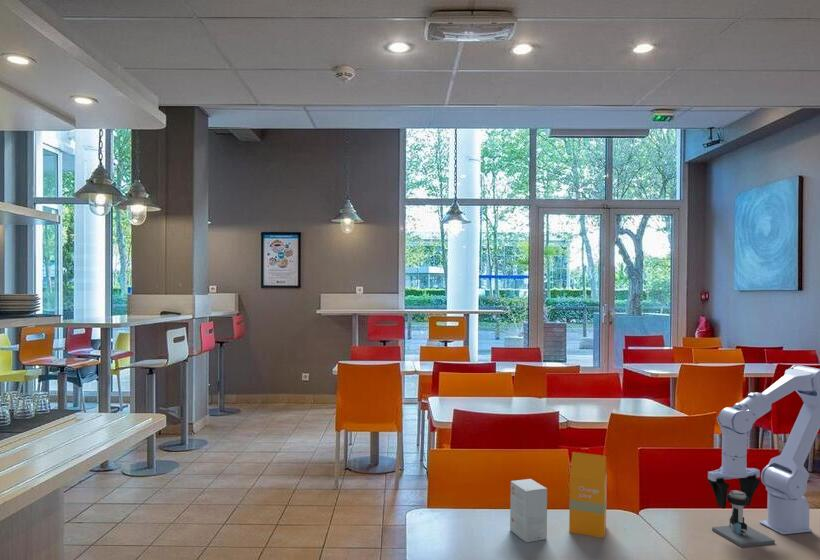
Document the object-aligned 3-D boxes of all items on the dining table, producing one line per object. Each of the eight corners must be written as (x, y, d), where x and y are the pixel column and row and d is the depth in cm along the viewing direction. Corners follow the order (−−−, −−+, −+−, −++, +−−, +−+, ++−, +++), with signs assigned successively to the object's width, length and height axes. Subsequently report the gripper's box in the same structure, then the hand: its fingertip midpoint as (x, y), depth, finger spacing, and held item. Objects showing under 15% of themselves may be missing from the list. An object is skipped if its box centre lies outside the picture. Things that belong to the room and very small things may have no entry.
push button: (756, 537, 152) (756, 498, 152) (735, 537, 152) (735, 498, 152) (742, 526, 158) (742, 489, 158) (721, 526, 158) (722, 489, 158)
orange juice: (604, 538, 153) (605, 459, 153) (568, 532, 156) (569, 455, 156) (606, 526, 160) (607, 451, 160) (572, 520, 163) (573, 447, 163)
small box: (547, 539, 151) (548, 488, 151) (525, 543, 149) (526, 491, 149) (530, 526, 159) (530, 478, 159) (509, 530, 157) (509, 480, 157)
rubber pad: (744, 527, 160) (744, 524, 160) (774, 543, 150) (774, 540, 150) (712, 530, 158) (712, 527, 158) (741, 547, 148) (741, 543, 148)
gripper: (745, 448, 163) (744, 498, 163) (699, 451, 159) (699, 502, 159) (766, 455, 156) (765, 507, 156) (719, 459, 153) (718, 512, 153)
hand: (733, 505), depth 157 cm, fingers open, 7 cm apart
